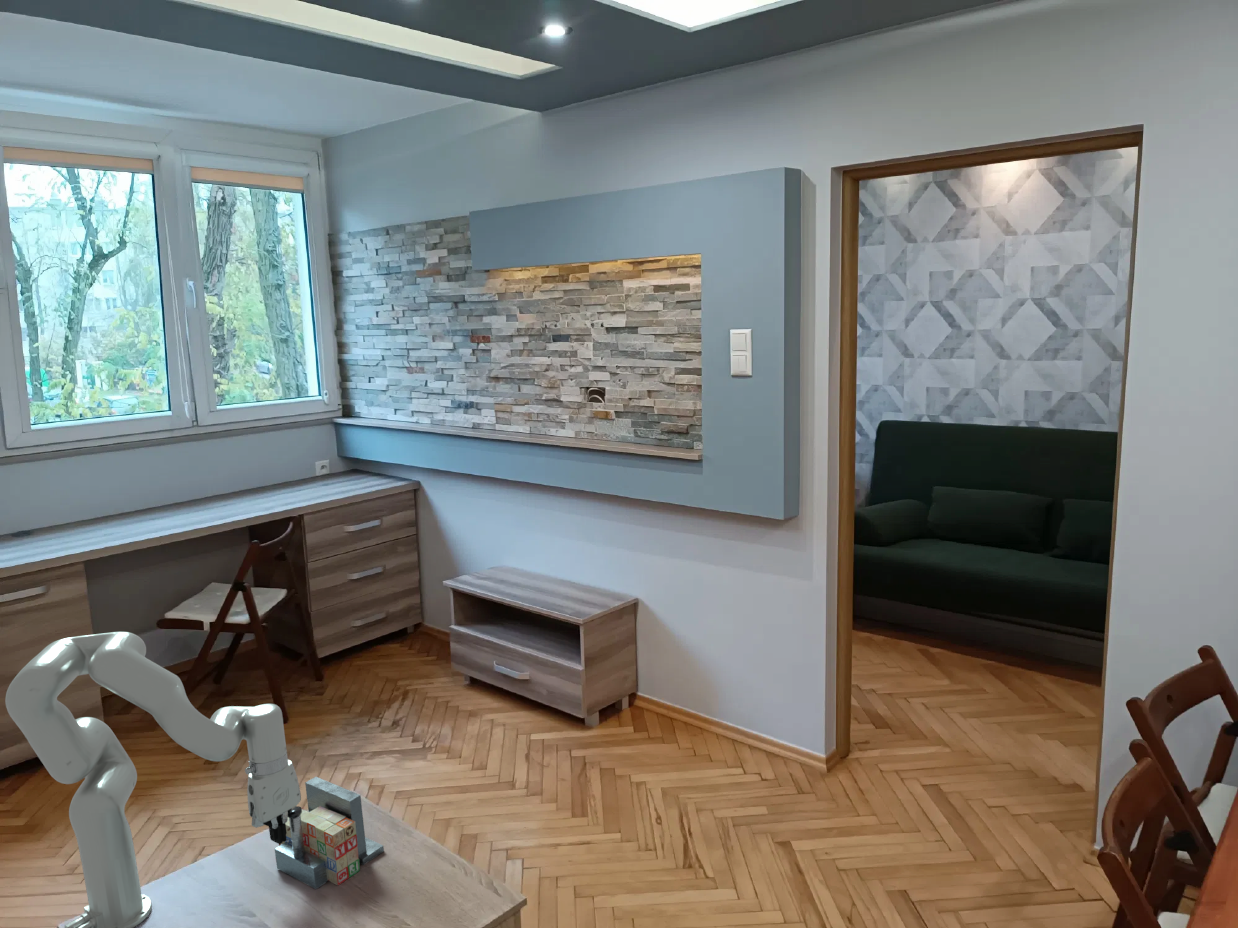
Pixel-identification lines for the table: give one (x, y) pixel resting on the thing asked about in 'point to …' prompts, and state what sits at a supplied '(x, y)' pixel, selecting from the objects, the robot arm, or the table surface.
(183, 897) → the table surface
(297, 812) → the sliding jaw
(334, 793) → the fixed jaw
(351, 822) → the stack of blocks
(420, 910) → the table surface
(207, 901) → the table surface
